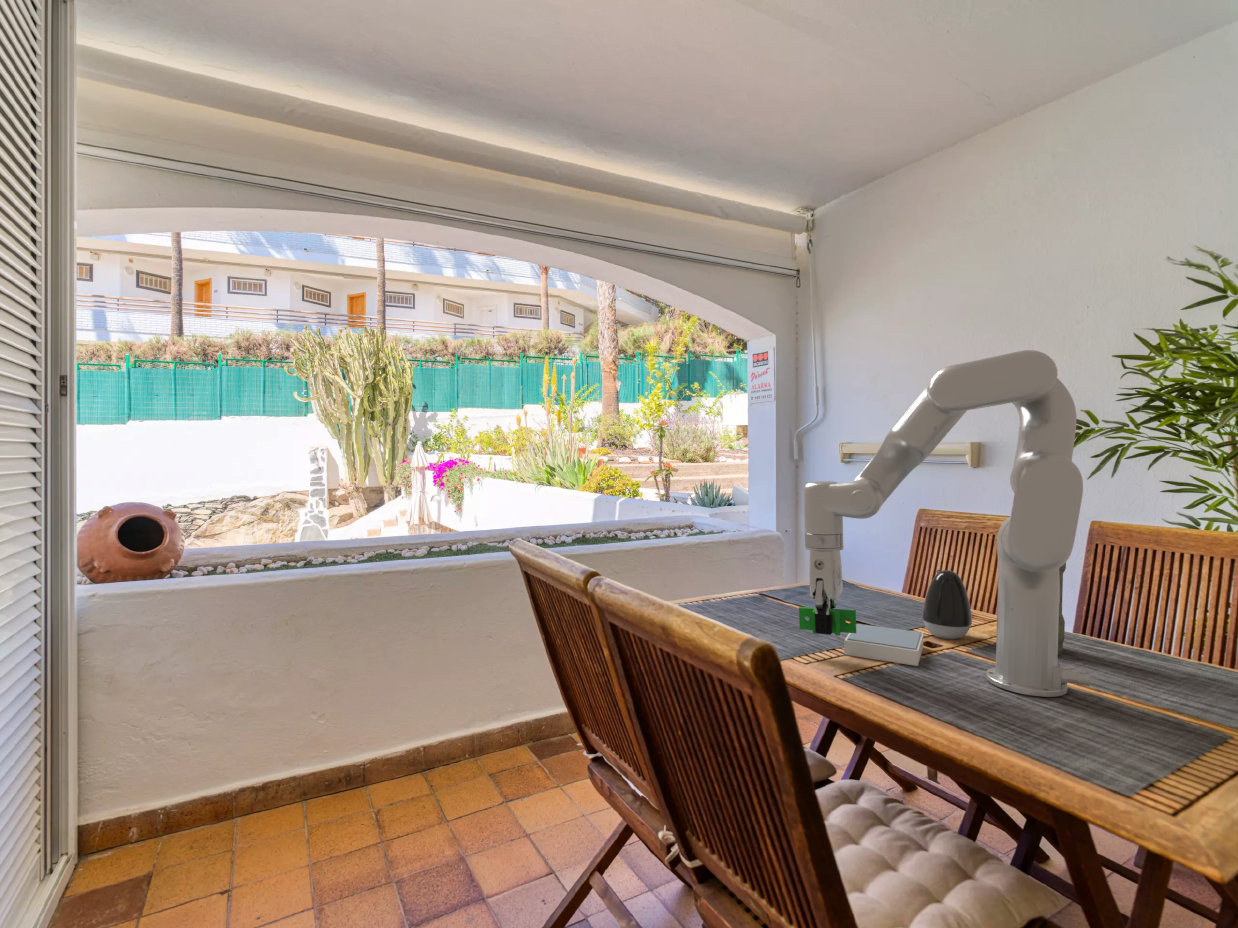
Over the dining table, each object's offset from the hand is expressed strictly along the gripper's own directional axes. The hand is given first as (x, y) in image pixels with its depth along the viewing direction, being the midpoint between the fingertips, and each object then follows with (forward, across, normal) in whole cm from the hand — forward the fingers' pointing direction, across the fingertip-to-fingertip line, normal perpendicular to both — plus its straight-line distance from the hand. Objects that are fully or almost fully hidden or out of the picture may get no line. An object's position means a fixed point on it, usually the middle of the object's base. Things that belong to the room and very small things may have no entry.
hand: (826, 629), depth 132 cm
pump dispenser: (+7, +30, -21) cm, 37 cm away
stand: (+6, +11, -10) cm, 16 cm away
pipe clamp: (+1, 0, 0) cm, 1 cm away
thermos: (+8, +30, -39) cm, 49 cm away
